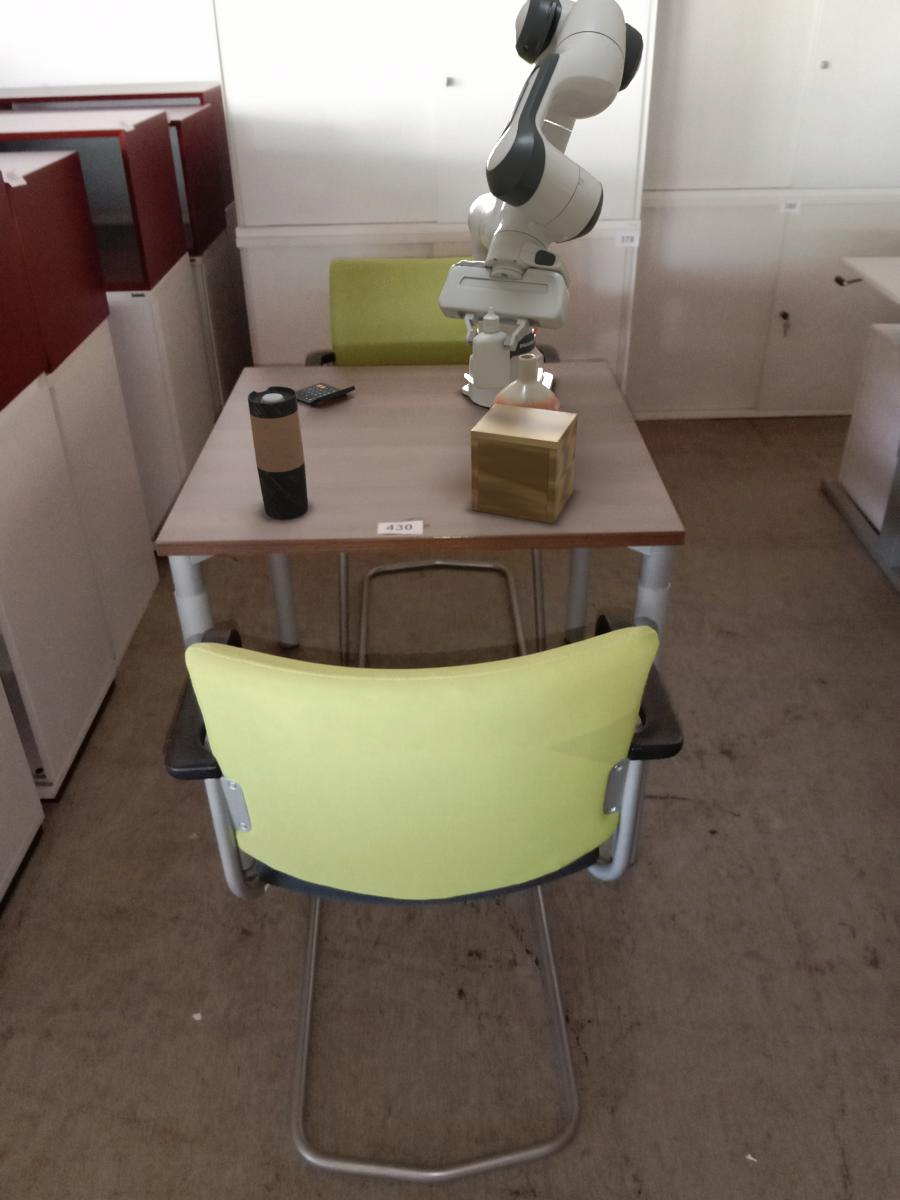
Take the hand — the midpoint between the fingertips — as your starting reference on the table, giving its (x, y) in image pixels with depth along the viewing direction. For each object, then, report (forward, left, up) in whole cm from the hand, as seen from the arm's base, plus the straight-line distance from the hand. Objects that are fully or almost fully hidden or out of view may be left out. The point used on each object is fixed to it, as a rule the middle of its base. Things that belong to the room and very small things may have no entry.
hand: (490, 346), depth 141 cm
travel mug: (+14, -31, -26) cm, 43 cm away
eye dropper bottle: (-1, 0, -6) cm, 7 cm away
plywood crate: (-2, +5, -26) cm, 27 cm away
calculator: (-34, -50, -27) cm, 66 cm away
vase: (-22, -1, -26) cm, 34 cm away
